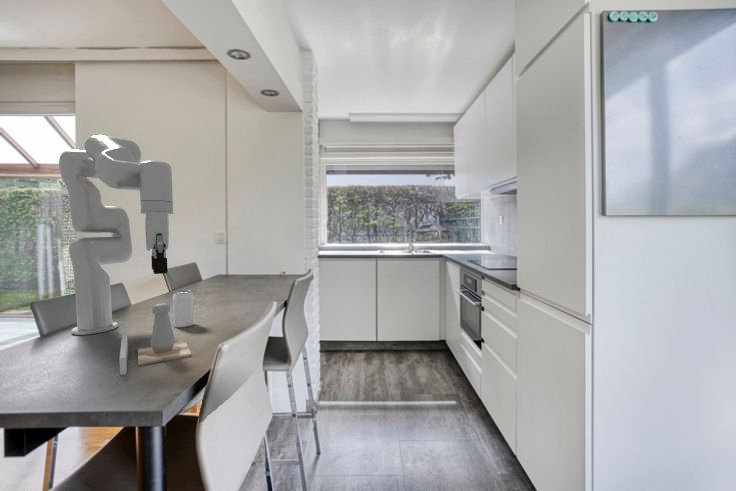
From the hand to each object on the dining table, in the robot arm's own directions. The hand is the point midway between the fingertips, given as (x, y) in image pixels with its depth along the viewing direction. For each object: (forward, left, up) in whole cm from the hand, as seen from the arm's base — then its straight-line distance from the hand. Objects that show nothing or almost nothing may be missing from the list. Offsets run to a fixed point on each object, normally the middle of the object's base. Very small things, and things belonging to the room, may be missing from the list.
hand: (159, 271), depth 97 cm
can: (-28, +8, -23) cm, 37 cm away
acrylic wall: (0, -9, -23) cm, 24 cm away
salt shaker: (0, 0, -22) cm, 22 cm away
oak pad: (0, 0, -23) cm, 23 cm away
